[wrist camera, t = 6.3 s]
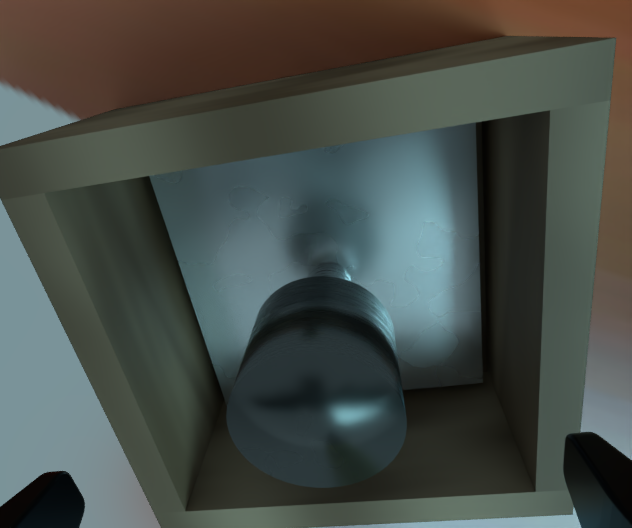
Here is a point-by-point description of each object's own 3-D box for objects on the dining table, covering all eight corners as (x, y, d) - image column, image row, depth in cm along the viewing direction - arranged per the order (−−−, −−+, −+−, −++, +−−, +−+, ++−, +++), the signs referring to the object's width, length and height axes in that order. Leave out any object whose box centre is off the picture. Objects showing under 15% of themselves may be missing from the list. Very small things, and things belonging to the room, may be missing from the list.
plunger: (468, 102, 13) (574, 164, 7) (477, 368, 17) (548, 559, 11) (154, 155, 14) (4, 248, 8) (231, 390, 18) (170, 573, 12)
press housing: (507, 36, 13) (616, 37, 8) (507, 372, 18) (572, 514, 13) (114, 109, 15) (-22, 152, 9) (215, 399, 20) (164, 534, 14)
